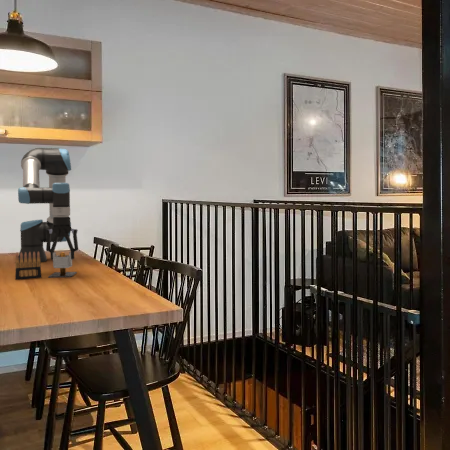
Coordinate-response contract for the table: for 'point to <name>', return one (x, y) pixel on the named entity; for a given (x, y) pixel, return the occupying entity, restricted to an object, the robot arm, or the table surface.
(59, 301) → the table surface
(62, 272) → the keeper
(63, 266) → the grey square block
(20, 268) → the ammunition clip
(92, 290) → the table surface
